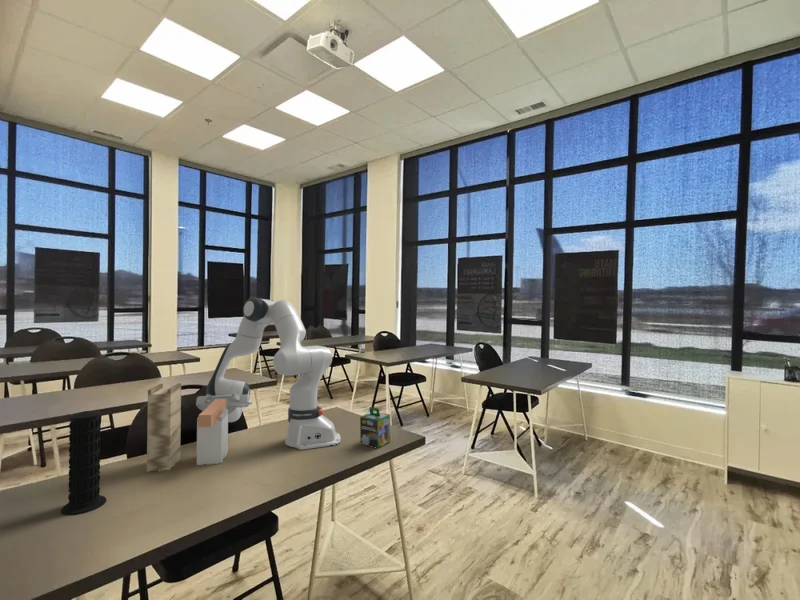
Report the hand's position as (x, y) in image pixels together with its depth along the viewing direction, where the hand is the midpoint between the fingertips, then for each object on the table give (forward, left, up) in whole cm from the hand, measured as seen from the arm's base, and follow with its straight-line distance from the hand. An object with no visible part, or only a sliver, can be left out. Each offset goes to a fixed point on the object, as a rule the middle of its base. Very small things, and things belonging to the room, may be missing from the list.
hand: (220, 396), depth 155 cm
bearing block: (+14, +17, -20) cm, 29 cm away
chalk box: (-61, +9, -20) cm, 65 cm away
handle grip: (+26, +42, -20) cm, 53 cm away
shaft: (-1, +13, -5) cm, 14 cm away
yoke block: (-1, +14, -20) cm, 24 cm away
